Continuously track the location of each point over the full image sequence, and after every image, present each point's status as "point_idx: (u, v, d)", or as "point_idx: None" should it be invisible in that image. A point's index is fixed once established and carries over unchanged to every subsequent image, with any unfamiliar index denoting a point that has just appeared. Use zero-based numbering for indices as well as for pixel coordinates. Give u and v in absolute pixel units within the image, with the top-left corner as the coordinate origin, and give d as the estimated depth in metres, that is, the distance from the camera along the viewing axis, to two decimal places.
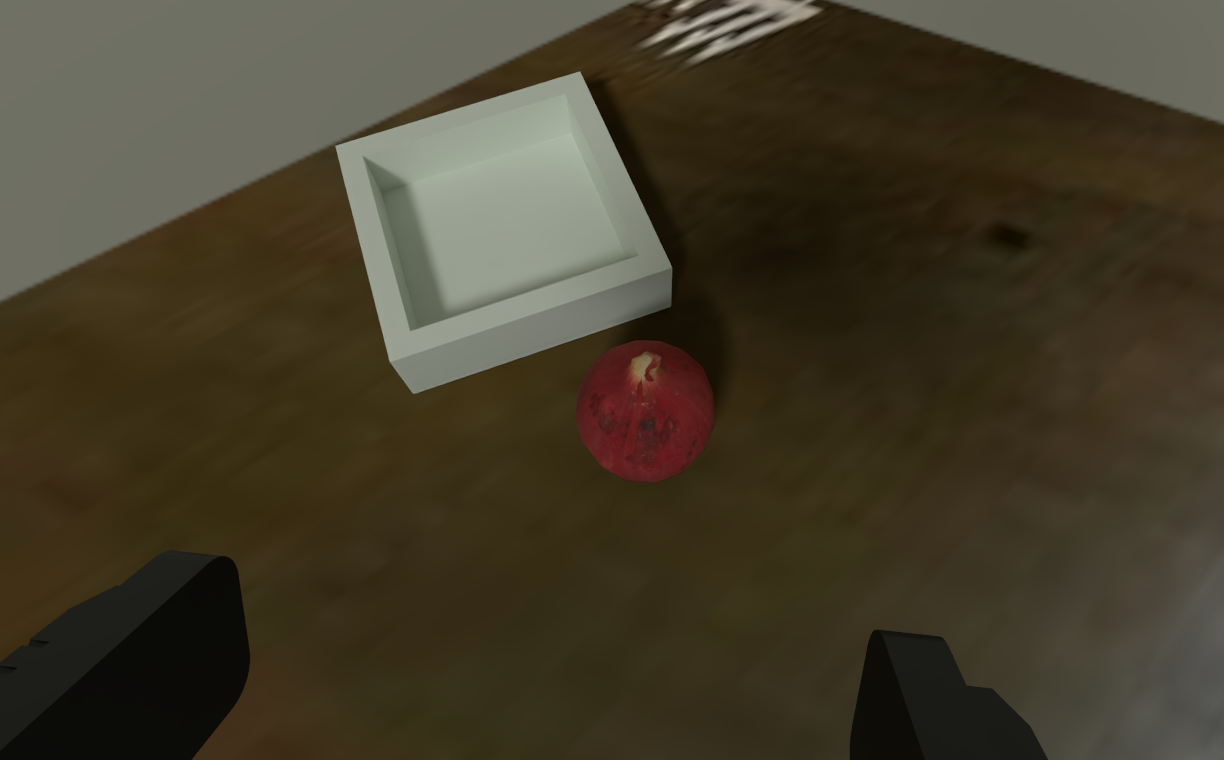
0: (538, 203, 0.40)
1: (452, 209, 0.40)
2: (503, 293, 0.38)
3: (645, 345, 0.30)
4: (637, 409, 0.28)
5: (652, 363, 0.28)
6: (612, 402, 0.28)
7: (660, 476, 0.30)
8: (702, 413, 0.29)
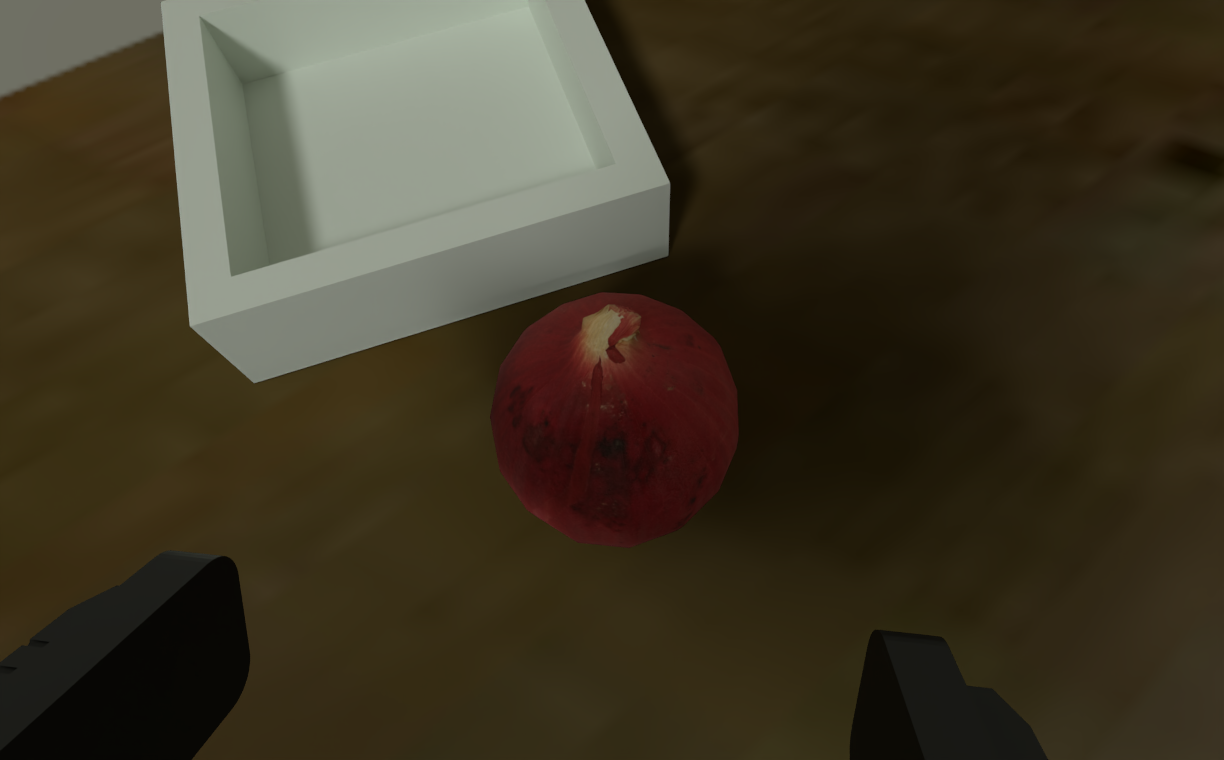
0: (472, 101, 0.27)
1: (342, 108, 0.27)
2: None
3: (615, 299, 0.16)
4: (592, 416, 0.14)
5: (623, 328, 0.14)
6: (545, 401, 0.15)
7: (637, 539, 0.16)
8: (716, 426, 0.16)
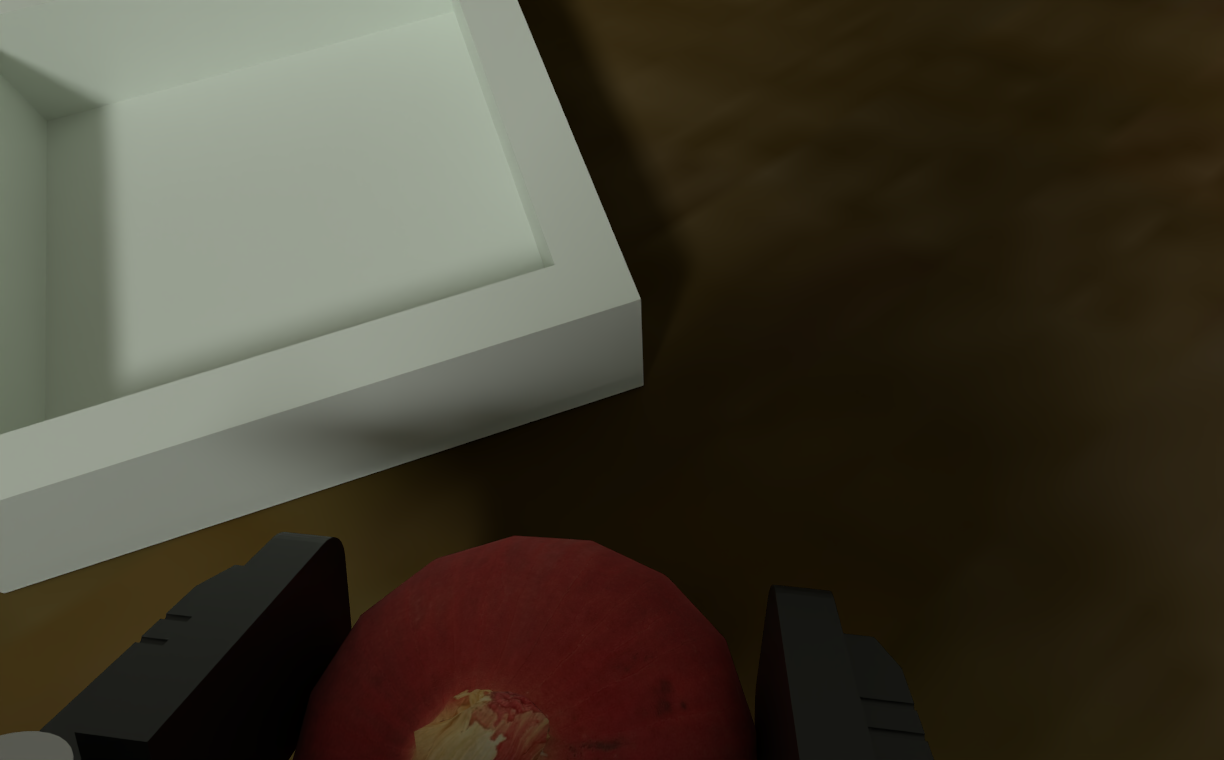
0: (366, 146, 0.19)
1: (182, 158, 0.19)
2: (255, 345, 0.16)
3: (517, 595, 0.08)
4: None
5: None
6: None
7: None
8: None
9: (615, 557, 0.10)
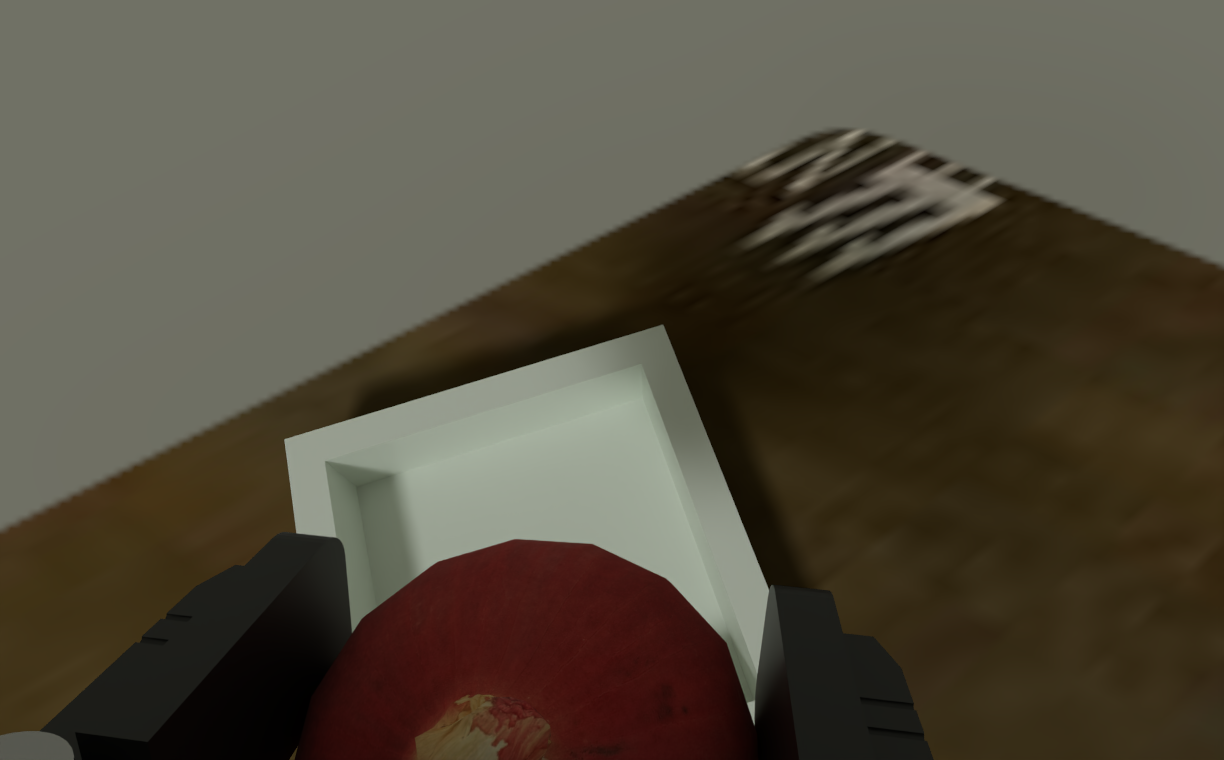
0: (592, 522, 0.26)
1: (460, 526, 0.26)
2: None
3: (518, 599, 0.08)
4: None
5: None
6: None
7: None
8: None
9: (616, 561, 0.10)
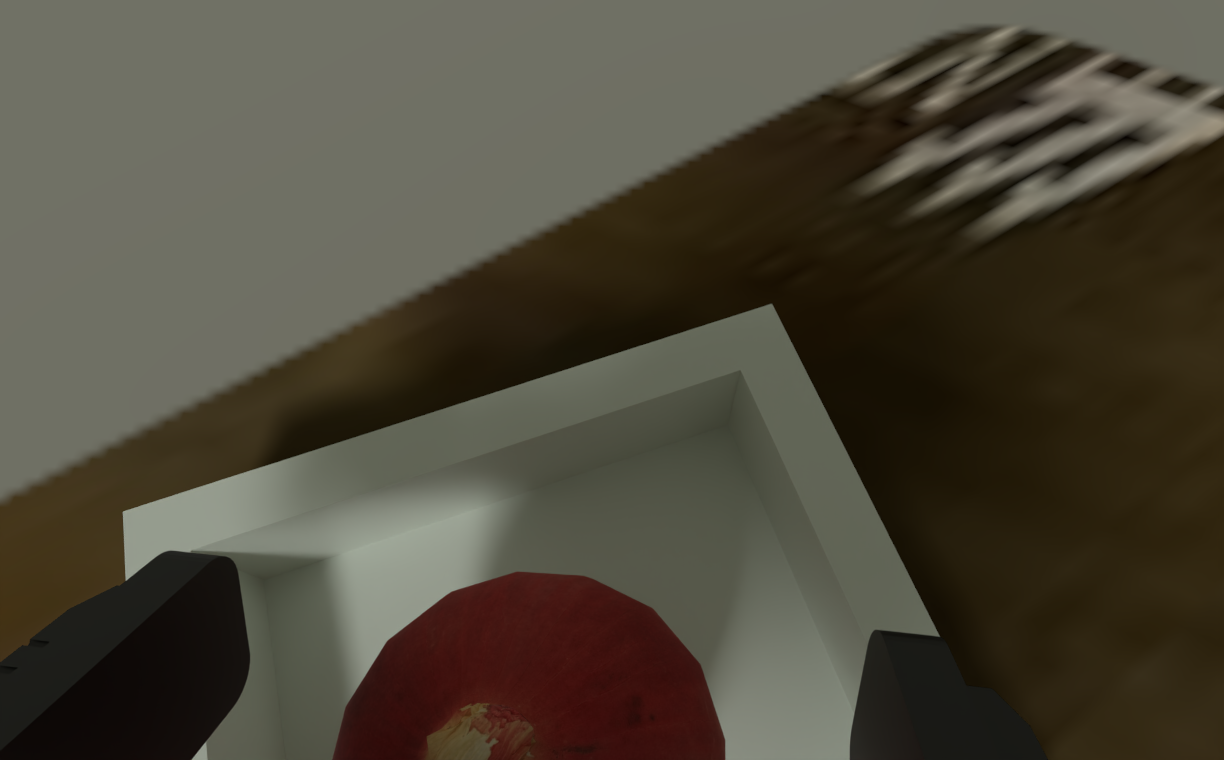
0: None
1: None
2: None
3: (514, 624, 0.10)
4: None
5: None
6: None
7: None
8: None
9: (602, 590, 0.11)
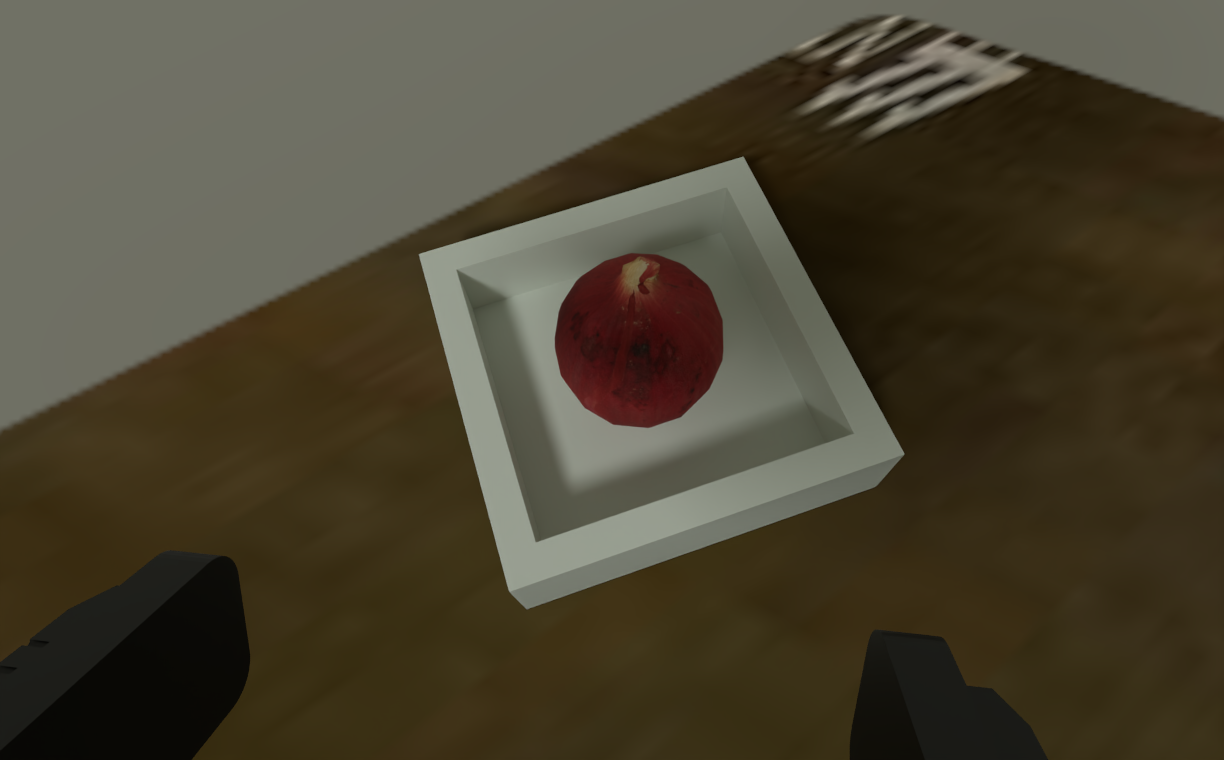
0: None
1: None
2: (646, 463, 0.28)
3: (641, 256, 0.24)
4: (628, 329, 0.22)
5: (648, 271, 0.22)
6: (597, 320, 0.23)
7: (655, 418, 0.25)
8: (708, 340, 0.24)
9: None
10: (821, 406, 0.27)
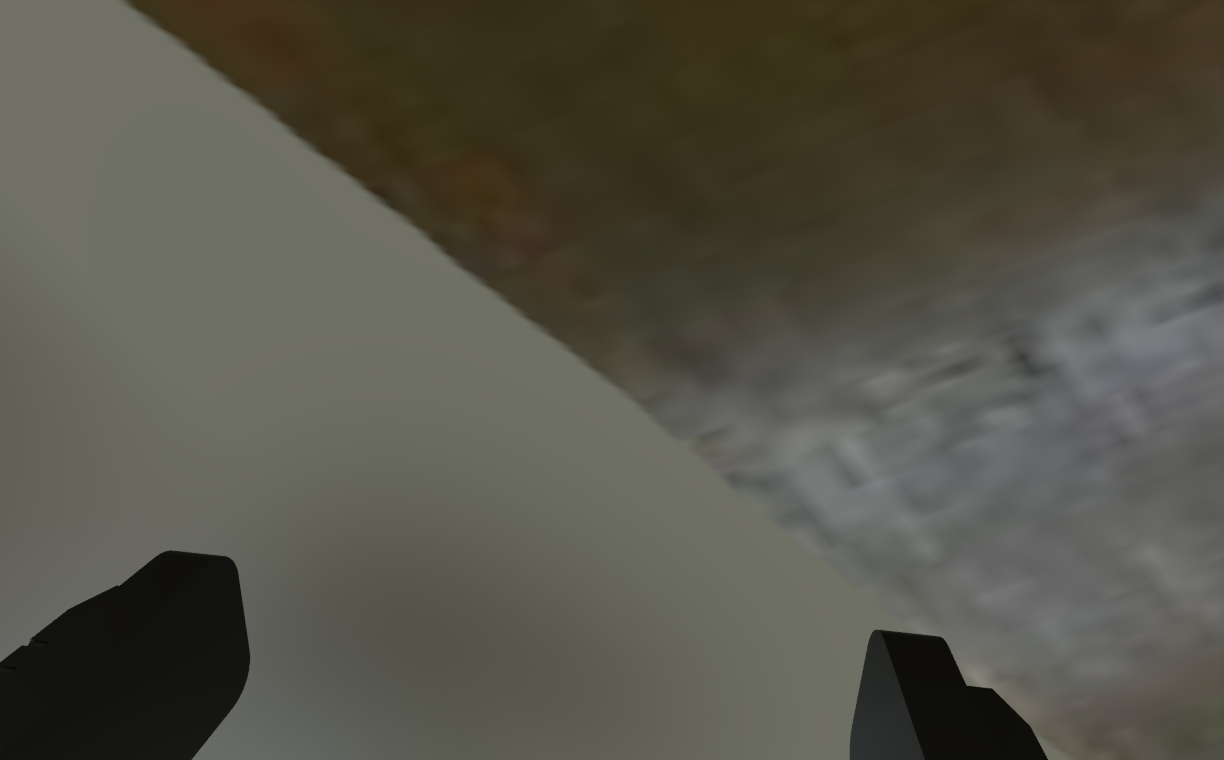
0: None
1: None
2: None
3: None
4: None
5: None
6: None
7: None
8: None
9: None
10: None
